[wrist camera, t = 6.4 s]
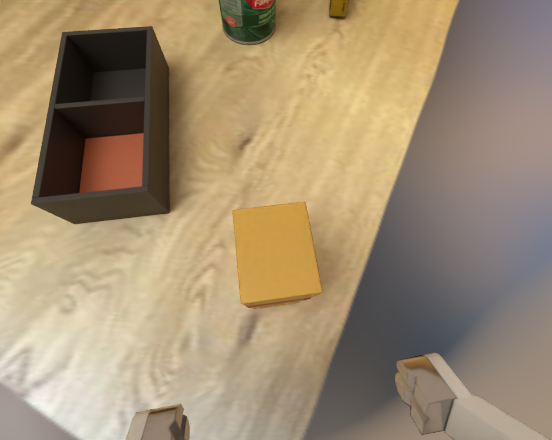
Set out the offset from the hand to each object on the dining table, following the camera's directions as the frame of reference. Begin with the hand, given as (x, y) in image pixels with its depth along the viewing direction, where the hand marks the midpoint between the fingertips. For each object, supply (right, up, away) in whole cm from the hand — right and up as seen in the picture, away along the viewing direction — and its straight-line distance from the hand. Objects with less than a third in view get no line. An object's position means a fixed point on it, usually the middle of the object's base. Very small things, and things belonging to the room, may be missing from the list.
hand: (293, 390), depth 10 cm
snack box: (-1, 0, +18) cm, 18 cm away
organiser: (-19, +17, +23) cm, 34 cm away
